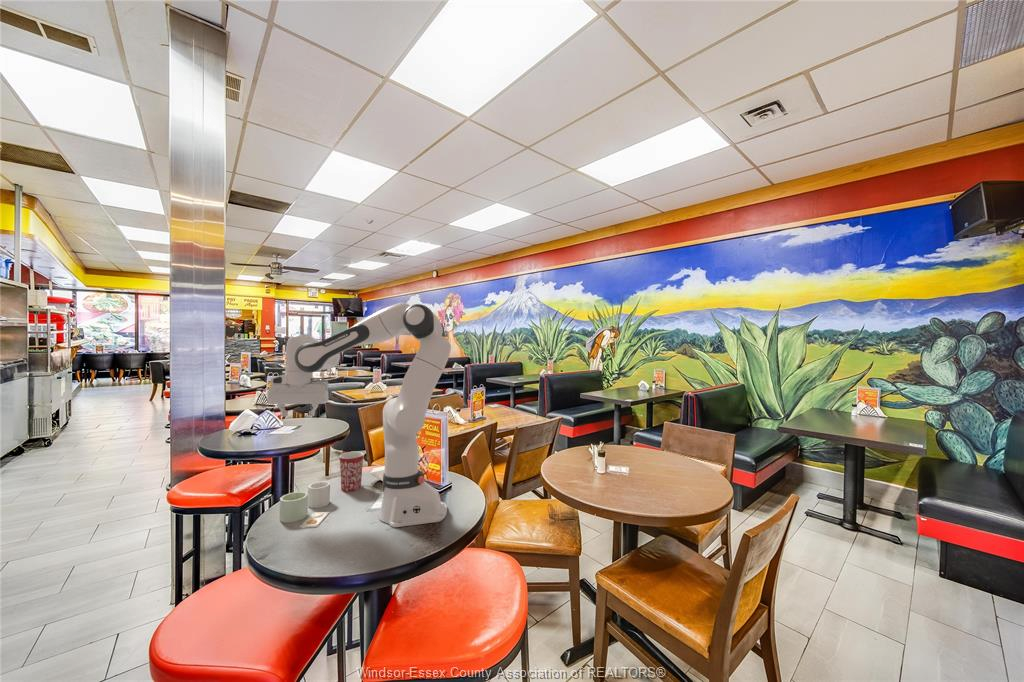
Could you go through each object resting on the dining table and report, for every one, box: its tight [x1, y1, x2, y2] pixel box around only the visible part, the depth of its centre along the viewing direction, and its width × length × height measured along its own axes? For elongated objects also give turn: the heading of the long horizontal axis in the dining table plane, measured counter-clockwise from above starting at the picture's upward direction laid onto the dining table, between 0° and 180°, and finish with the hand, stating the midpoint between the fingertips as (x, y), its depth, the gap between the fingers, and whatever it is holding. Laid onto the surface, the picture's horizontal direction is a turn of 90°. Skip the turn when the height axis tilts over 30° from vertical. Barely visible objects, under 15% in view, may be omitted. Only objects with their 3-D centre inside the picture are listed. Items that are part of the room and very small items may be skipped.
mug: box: [338, 451, 365, 493], centre depth 149 cm, size 13×9×14 cm
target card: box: [299, 511, 330, 529], centre depth 120 cm, size 5×10×1 cm, turn 6°
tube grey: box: [307, 481, 331, 509], centre depth 133 cm, size 7×7×7 cm
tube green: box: [279, 491, 309, 524], centre depth 122 cm, size 8×8×7 cm
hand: (298, 416), depth 135 cm, fingers open, 8 cm apart
